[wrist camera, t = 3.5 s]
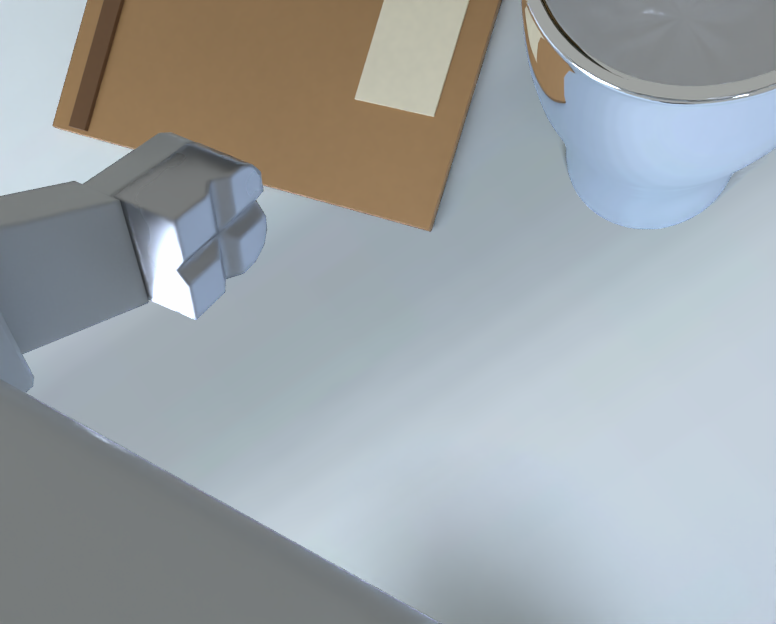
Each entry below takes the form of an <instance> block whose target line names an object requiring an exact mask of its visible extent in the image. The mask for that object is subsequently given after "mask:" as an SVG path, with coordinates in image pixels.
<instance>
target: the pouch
mask: <svg viewBox="0 0 776 624" xmlns="http://www.w3.org/2000/svg"><path fill="white" fill-rule="evenodd" d="M501 2H502V0H87V4H86V7H85V11H84V15H83V18H82V22H81V25H80V29H79V32H78V36H77V40H76V43H75V47H74V50H73V54H72V57H71V61H70V65H69V68H68V72H67V75H66V79H65V83H64V86H63V90H62V93H61V97H60V100H59V104H58V108H57V111H56V115H55V118H54V122H53V127H55V128H58V129H62V130H65V131H69V132H72V133H76V134H80V135H83V136H87V137H90V138H94V139H98V140H101V141H105V142H109V143H112V144H116V145H119V146H123V147H127V148H130V149H136V148H137V147H139V146H140V145H142V144H143V143H145V142H146V141H148V140H149V139H151V138H152V137H154V136H155V135H157V134H158V133H166V132H172V133H174V134H177V135H179V136H182V137H184V138H186V139H189V140H191V141H194V142H196V143H201V144H203V145H206V146H208V147H211V148H213V149H216V150H218V151H220V152H223V153H225V154H228V155H230V156H233V157H235V158H238V159H240V160H243V161H245V162H248V163H250V164H253V165H254V166H255V167H256V168H257V169H259V170H260V171H261V177H262V184H263V185H264V186H268V187H271V188H275V189H278V190H282V191H286V192H289V193H293V194H297V195H300V196H304V197H307V198H311V199H315V200H318V201H322V202H325V203H329V204H333V205H336V206H340V207H344V208H347V209H351V210H354V211H358V212H362V213H365V214H369V215H372V216H376V217H380V218H383V219H387V220H391V221H394V222H398V223H401V224H405V225H409V226H412V227H416V228H419V229H423V230H427V231H431V230H432V227H433V224H434V220H435V217H436V214H437V211H438V207H439V204H440V201H441V198H442V194H443V191H444V188H445V185H446V181H447V178H448V175H449V171H450V168H451V165H452V162H453V158H454V155H455V152H456V149H457V145H458V142H459V139H460V136H461V132H462V129H463V126H464V122H465V119H466V116H467V113H468V109H469V106H470V103H471V100H472V96H473V93H474V90H475V87H476V83H477V80H478V77H479V74H480V70H481V67H482V64H483V60H484V57H485V54H486V51H487V47H488V44H489V41H490V38H491V34H492V31H493V28H494V25H495V21H496V18H497V15H498V12H499V8H500V5H501Z"/></svg>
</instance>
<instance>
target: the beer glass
mask: <svg viewBox="0 0 776 624" xmlns="http://www.w3.org/2000/svg"><path fill="white" fill-rule="evenodd" d="M521 6H522V20H523V33H524V40H525V46H526V52H527V57H528V63H529V68H530V72H531V76H532V79H533V83H534V85H535V88H536V91H537V94H538V97H539V100H540V103H541V105H542V108H543V110H544V112H545V114H546V116H547V118H548V120H549V122H550V124H551V125H552V127H553V128H554V130H555V131H556V132H557V134H558V135H559V137H560V138H561V139H562V141H563V142H564V144H565V145H566V163H567V169H568V173H569V177H570V180H571V183H572V185H573V187H574V189H575V191H576V193H577V194H578V196H579V197H580V198H581V200H582V201H583V202H584V203H585V204H586V205H587V206H588V207H589V208H590V209H591V210H592V211H593V212H595V213H596V214H597V215H599V216H600V217H602V218H604V219H606V220H607V221H610V222H612V223H614V224H617V225H620V226H624V227H628V228H633V229H660V228H666V227H670V226H674V225H677V224H680V223H682V222H685V221H687V220H689V219H691V218H693V217H695V216H696V215H698V214H699V213H701V212H702V211H704V210H705V209H706V208H707V207H709V206H710V205H711V204H712V203H713V202H714V201H715V200H716V199H717V198H718V196H719V195H720V194H721V193H722V191H723V190H724V188H725V187H726V185H727V184H728V182H729V180H730V178H731V176H732V174H733V173H735V172H737V171H739V170H741V169H742V168H744V167H746V166H748V165H750V164H751V163H753V162H755V161H757V160H758V159H760V158H762V157H763V156H765V155H766V154H768V153H769V152H770V151H772V150H773V149H774V148H776V0H521Z"/></svg>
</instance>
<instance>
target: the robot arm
mask: <svg viewBox="0 0 776 624" xmlns="http://www.w3.org/2000/svg"><path fill="white" fill-rule="evenodd" d="M262 192H263V184H262V177H261V171H260V170H259V169H257V168H256V167H255V166H254V165H253V164H250V163H248V162H245V161H243V160H240V159H238V158H235V157H233V156H230V155H228V154H225V153H223V152H220V151H218V150H216V149H213V148H211V147H208V146H206V145H203V144H201V143H196V142H194V141H191V140H189V139H186V138H184V137H182V136H179V135H177V134H174V133H172V132H166V133H158V134H157V135H155V136H154V137H152V138H151V139H149V140H148V141H146V142H145V143H143V144H142V145H140V146H139V147H137V148H136V149H134V150H133V151H131V152H130V153H128V154H127V155H125V156H124V157H122V158H121V159H119V160H118V161H116V162H115V163H113V164H112V165H110V166H109V167H107V168H106V169H104V170H103V171H101V172H100V173H98V174H97V175H96V176H94V177H93V178H91V179H90V180H88V181H87V182H85V183H84V184H80V183H78V182H75V181H71V182H67V183H62V184H57V185H52V186H47V187H42V188H37V189H33V190H28V191H23V192H18V193H13V194H8V195H3V196H0V624H441V623H440V622H438V621H436V620H434V619H432V618H431V617H429V616H427V615H425V614H423V613H422V612H420V611H418V610H416V609H414V608H413V607H411V606H409V605H407V604H405V603H404V602H402V601H400V600H398V599H396V598H395V597H393V596H391V595H389V594H387V593H386V592H384V591H382V590H380V589H378V588H377V587H375V586H373V585H371V584H369V583H368V582H366V581H364V580H362V579H360V578H359V577H357V576H355V575H353V574H351V573H349V572H348V571H346V570H344V569H342V568H340V567H339V566H337V565H335V564H333V563H331V562H330V561H328V560H326V559H324V558H322V557H321V556H319V555H317V554H315V553H313V552H312V551H310V550H308V549H306V548H304V547H303V546H301V545H299V544H297V543H295V542H294V541H292V540H290V539H288V538H286V537H285V536H283V535H281V534H279V533H277V532H276V531H274V530H272V529H270V528H268V527H267V526H265V525H263V524H261V523H259V522H258V521H256V520H254V519H252V518H250V517H249V516H247V515H245V514H243V513H241V512H240V511H238V510H236V509H234V508H232V507H231V506H229V505H227V504H225V503H223V502H222V501H220V500H218V499H216V498H214V497H213V496H211V495H209V494H207V493H205V492H204V491H202V490H200V489H198V488H196V487H195V486H193V485H191V484H189V483H187V482H186V481H184V480H182V479H180V478H178V477H177V476H175V475H173V474H171V473H169V472H168V471H166V470H164V469H162V468H160V467H158V466H157V465H155V464H153V463H151V462H149V461H148V460H146V459H144V458H142V457H140V456H139V455H137V454H135V453H133V452H131V451H130V450H128V449H126V448H124V447H122V446H121V445H119V444H117V443H115V442H113V441H112V440H110V439H108V438H106V437H104V436H103V435H101V434H99V433H97V432H95V431H94V430H92V429H90V428H88V427H86V426H85V425H83V424H81V423H79V422H77V421H76V420H74V419H72V418H70V417H68V416H66V415H65V414H63V413H61V412H59V411H57V410H56V409H54V408H52V407H50V406H48V405H47V404H45V403H43V402H41V401H39V400H38V399H36V398H34V397H32V396H30V395H29V394H27V393H26V392H27V391H28V390H29V389H30V388H31V387H33V382H34V376H33V374H32V372H31V370H30V368H29V366H28V364H27V363H26V361H25V359H24V357H23V355H22V354H24V353H27V352H29V351H32V350H34V349H37V348H39V347H41V346H44V345H46V344H49V343H51V342H54V341H56V340H59V339H61V338H64V337H66V336H68V335H71V334H73V333H76V332H78V331H81V330H83V329H86V328H88V327H90V326H93V325H95V324H98V323H100V322H103V321H105V320H108V319H110V318H113V317H115V316H117V315H120V314H122V313H125V312H127V311H130V310H132V309H135V308H137V307H140V306H142V305H144V304H147V303H148V302H149V301H148V300H151V301H153V302H155V303H158V304H160V305H162V306H165V307H167V308H169V309H172V310H174V311H176V312H179V313H181V314H183V315H186V316H188V317H190V318H192V319H195V320H197V319H198V318H199V317H200V316H201V315H202V314H203V313H204V312H205V311H206V310H207V309H208V308H209V307H210V306H211V305H212V304H213V303H214V302H215V301H216V300H218V299H219V298H220V297H221V296H222V295H223V294H224V293H225V286H226V279H228V278H231V277H234V276H238V275H241V274H244V273H245V272H246V271H247V270H248V269H249V268H250V267H251V266H252V265H253V264H254V263H255V262H256V260H257V258H258V256H259V254H260V252H261V250H262V248H263V246H264V244H265V238H266V232H267V224H266V215H265V214H264V212H263V211H262V209H261V207H260V206H259V204H258V203H257V201H256V199H257V198H258V197H259V196H260V194H261V193H262Z"/></svg>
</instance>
